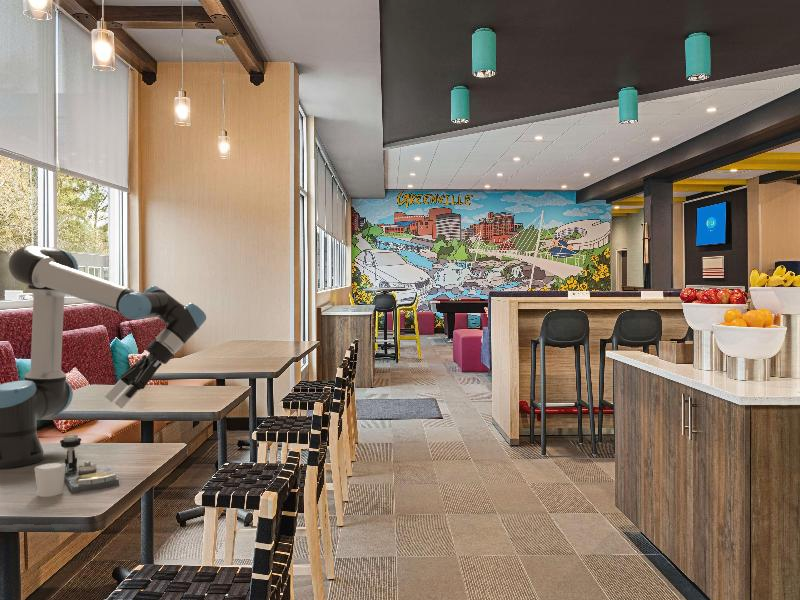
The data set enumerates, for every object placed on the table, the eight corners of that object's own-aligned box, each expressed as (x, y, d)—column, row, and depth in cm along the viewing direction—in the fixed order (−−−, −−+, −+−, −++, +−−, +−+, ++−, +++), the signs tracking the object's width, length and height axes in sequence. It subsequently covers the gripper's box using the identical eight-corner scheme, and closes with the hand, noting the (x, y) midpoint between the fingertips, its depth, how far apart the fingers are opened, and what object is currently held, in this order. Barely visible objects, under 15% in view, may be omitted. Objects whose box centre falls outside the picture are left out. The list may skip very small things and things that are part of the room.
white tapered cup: (58, 487, 166) (58, 460, 166) (70, 492, 162) (70, 465, 162) (30, 493, 161) (29, 466, 161) (41, 499, 157) (41, 471, 156)
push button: (80, 474, 177) (79, 438, 177) (58, 476, 175) (58, 440, 175) (82, 468, 183) (82, 433, 183) (61, 470, 181) (61, 435, 181)
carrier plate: (63, 478, 173) (63, 463, 173) (107, 471, 180) (107, 457, 180) (72, 493, 161) (72, 477, 161) (119, 485, 167) (118, 469, 167)
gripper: (185, 358, 185) (132, 416, 176) (162, 352, 205) (113, 404, 197) (166, 341, 182) (111, 400, 173) (144, 336, 202) (94, 389, 194)
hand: (112, 402), depth 185 cm, fingers open, 13 cm apart
